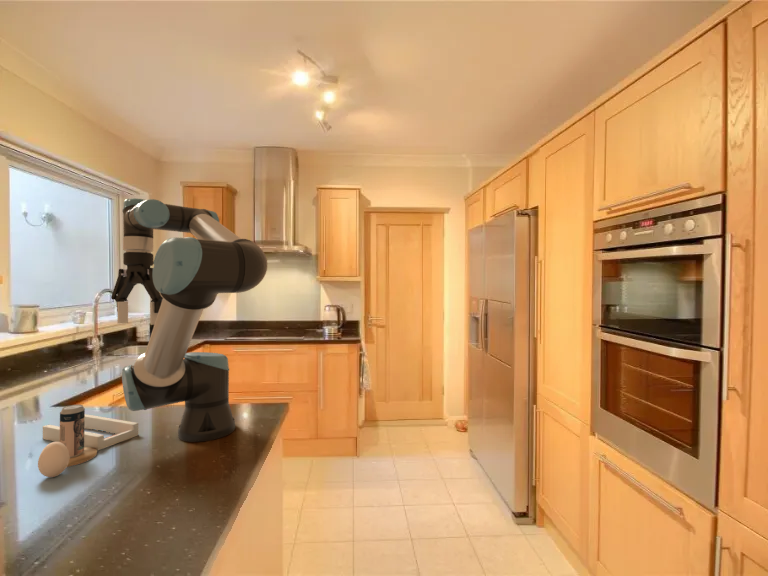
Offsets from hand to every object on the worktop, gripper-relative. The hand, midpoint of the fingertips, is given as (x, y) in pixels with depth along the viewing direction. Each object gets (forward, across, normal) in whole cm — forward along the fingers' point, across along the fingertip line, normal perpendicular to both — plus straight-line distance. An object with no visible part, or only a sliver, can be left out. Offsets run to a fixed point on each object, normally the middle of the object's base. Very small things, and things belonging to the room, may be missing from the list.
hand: (138, 323), depth 112 cm
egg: (+32, -8, +26) cm, 42 cm away
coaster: (+32, -2, +19) cm, 37 cm away
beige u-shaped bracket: (+32, +8, +8) cm, 34 cm away
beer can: (+31, -2, +19) cm, 36 cm away
